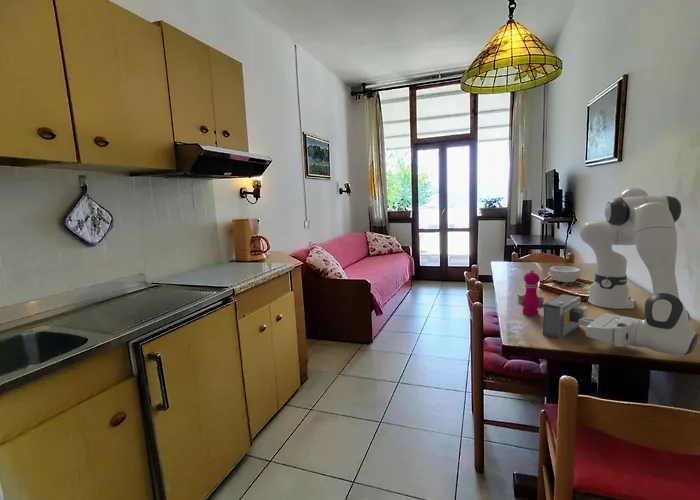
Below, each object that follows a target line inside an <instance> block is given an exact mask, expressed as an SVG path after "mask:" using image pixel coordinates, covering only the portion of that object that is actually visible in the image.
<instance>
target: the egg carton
mask: <svg viewBox="0 0 700 500" xmlns="http://www.w3.org/2000/svg"><path fill="white" fill-rule="evenodd" d="M516 296H517V297H518V298H517V299H518V300H517V302H518V303H519V304H522V299H523V297H524V296H525V294H524V295H519V294H517V295H516ZM537 297H538V299H539V302H540V306H544V304H545V303H544V300H545V297H542V296H538V295H537Z"/></svg>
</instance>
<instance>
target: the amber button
mask: <svg viewBox="0 0 700 500" xmlns="http://www.w3.org/2000/svg"><path fill="white" fill-rule="evenodd" d="M569 316H570V312H566V313H565V314H564V325H567V324H568V323H569Z"/></svg>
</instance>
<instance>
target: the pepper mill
mask: <svg viewBox="0 0 700 500" xmlns="http://www.w3.org/2000/svg"><path fill="white" fill-rule="evenodd" d="M523 280H524V282H525V283H524V284H525V285H524V287H525V289H526V290H525V294H524V295H525V296H524V297H523V299H522V303H521V306H522V314H524V315H527V316H533V317H535V316H538V315H539V307H540V306H541V305H540V302H539V299H538V297H539V296H538V295H537V288H538V287H539V284H538V283H539V282H540V276H539V274H537V273H536V272H535V269H533V268H531V269H529V272H527V273H525V275H524V276H523ZM537 296H538V297H537Z"/></svg>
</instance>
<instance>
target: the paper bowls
mask: <svg viewBox="0 0 700 500" xmlns="http://www.w3.org/2000/svg"><path fill="white" fill-rule="evenodd" d="M549 276H550V277H551V278H552V279H553V280H557V281H562V282H574V283H575V282H576V281H577V280H579V279H580V277H581V269H580V268H577V267H574V266H564V265H557V266H551V267H550V268H549Z"/></svg>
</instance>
